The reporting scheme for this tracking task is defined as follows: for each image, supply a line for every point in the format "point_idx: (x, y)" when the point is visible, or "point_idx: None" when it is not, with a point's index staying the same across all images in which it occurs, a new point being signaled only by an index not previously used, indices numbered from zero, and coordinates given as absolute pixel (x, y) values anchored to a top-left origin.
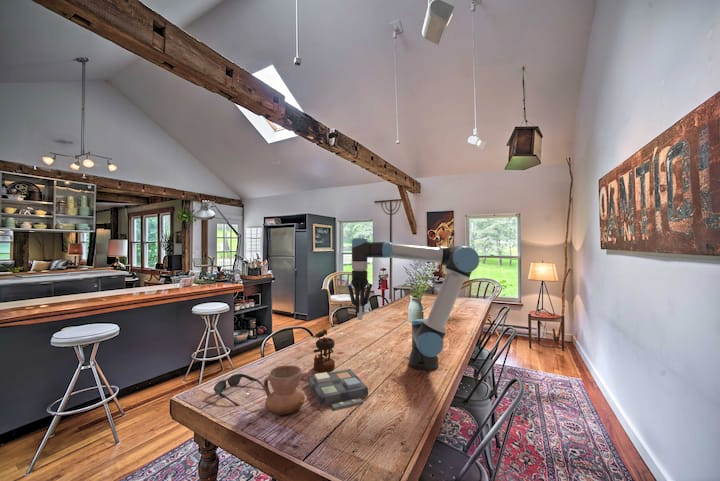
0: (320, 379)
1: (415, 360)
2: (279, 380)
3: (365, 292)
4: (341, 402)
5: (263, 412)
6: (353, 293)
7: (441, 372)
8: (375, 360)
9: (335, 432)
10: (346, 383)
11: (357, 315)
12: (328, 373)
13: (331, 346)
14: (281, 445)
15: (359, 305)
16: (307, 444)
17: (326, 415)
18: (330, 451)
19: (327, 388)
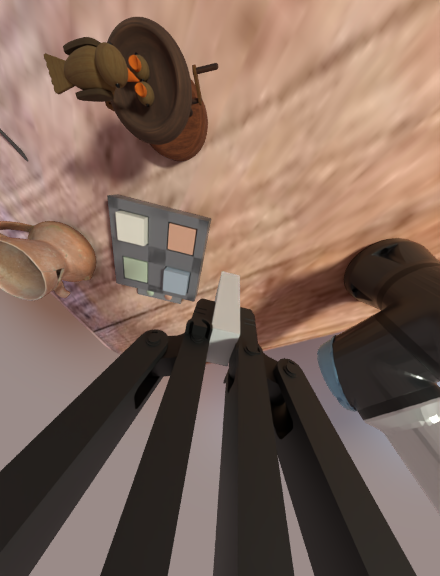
0: (123, 240)
1: (356, 282)
2: (12, 291)
3: (364, 562)
4: (151, 291)
5: None
6: (50, 540)
7: (357, 311)
8: (329, 173)
9: (129, 322)
10: (163, 282)
11: (219, 284)
12: (154, 211)
13: (165, 143)
14: (73, 308)
15: (222, 343)
16: (99, 320)
17: (127, 295)
18: (117, 336)
19: (133, 266)
